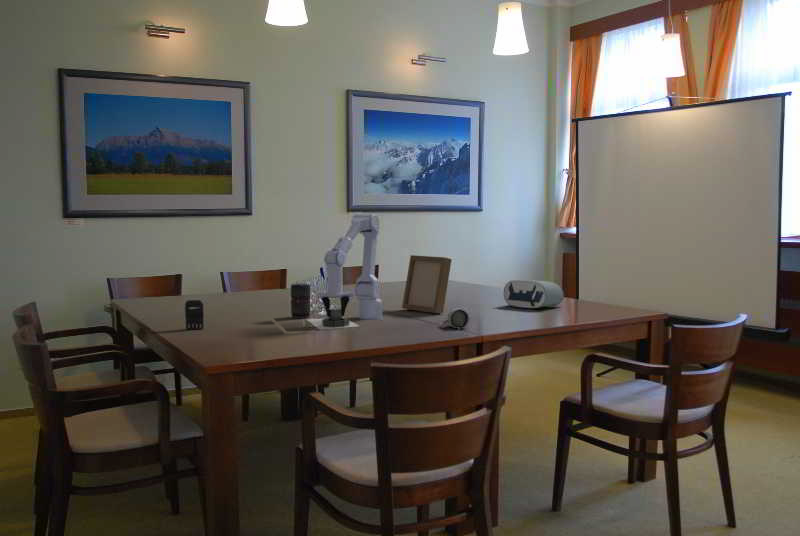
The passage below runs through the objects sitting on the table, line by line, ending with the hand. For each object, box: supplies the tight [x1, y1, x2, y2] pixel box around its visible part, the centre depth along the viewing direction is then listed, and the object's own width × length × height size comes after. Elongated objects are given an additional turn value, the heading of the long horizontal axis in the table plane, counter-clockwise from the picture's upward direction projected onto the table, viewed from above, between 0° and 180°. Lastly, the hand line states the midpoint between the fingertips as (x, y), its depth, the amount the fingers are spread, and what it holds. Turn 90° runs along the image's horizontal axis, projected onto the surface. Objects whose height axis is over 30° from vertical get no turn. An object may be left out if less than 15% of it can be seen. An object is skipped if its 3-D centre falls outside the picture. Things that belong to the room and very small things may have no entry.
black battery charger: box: [184, 299, 205, 330], centre depth 263 cm, size 7×4×11 cm, turn 106°
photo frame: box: [401, 254, 453, 315], centre depth 309 cm, size 15×22×25 cm
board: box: [305, 316, 361, 332], centre depth 272 cm, size 16×24×3 cm, turn 19°
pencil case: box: [503, 279, 565, 309], centre depth 322 cm, size 22×19×13 cm
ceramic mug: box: [439, 307, 470, 330], centre depth 265 cm, size 11×8×8 cm
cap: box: [328, 308, 343, 321], centre depth 266 cm, size 5×5×4 cm
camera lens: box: [290, 283, 311, 320], centre depth 285 cm, size 8×8×15 cm
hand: (335, 316), depth 266 cm, fingers closed on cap, 5 cm apart
